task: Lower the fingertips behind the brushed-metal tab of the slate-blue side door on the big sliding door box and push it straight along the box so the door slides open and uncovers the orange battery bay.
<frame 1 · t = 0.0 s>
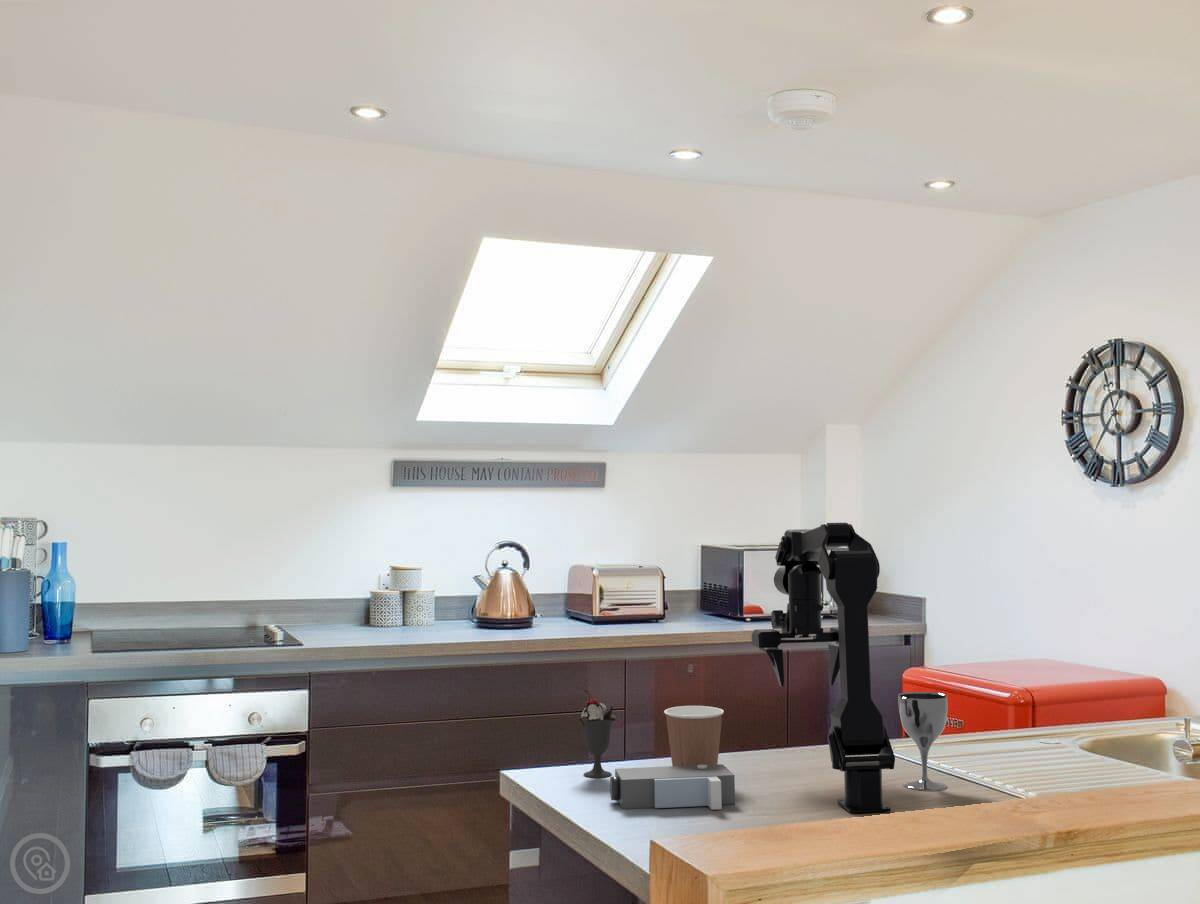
hand: (806, 685, 209), 15 cm above the counter, fingers open, 9 cm apart
sundae: (597, 776, 205), on the counter
coffee cup: (695, 782, 199), on the counter
side door: (687, 793, 180), point 2 cm above the counter, slide at 0.0 cm
sliding door box: (674, 800, 186), on the counter
wine glass: (925, 787, 194), on the counter
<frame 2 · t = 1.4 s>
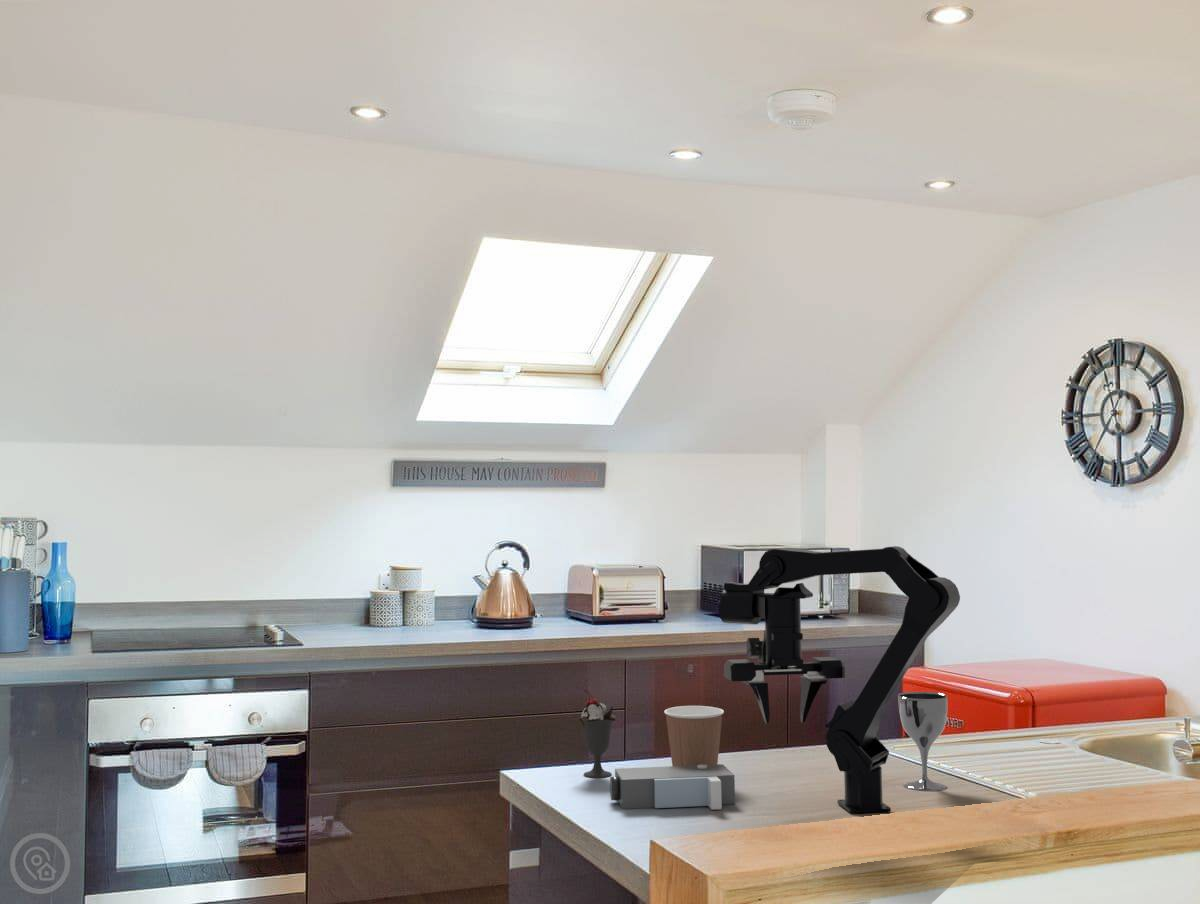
hand: (784, 722, 187), 12 cm above the counter, fingers open, 6 cm apart
nothing on the counter moved.
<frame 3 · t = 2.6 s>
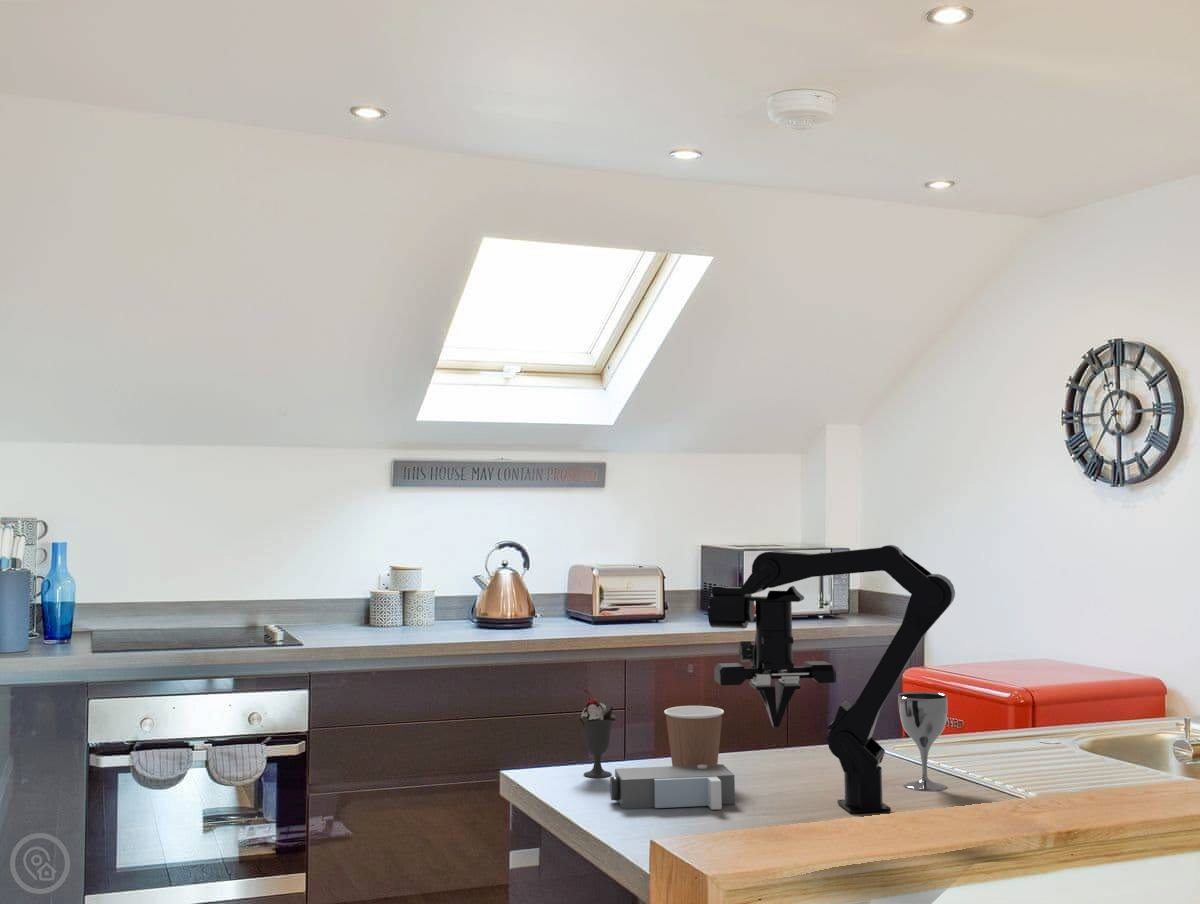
hand: (775, 727, 185), 12 cm above the counter, fingers closed
nothing on the counter moved.
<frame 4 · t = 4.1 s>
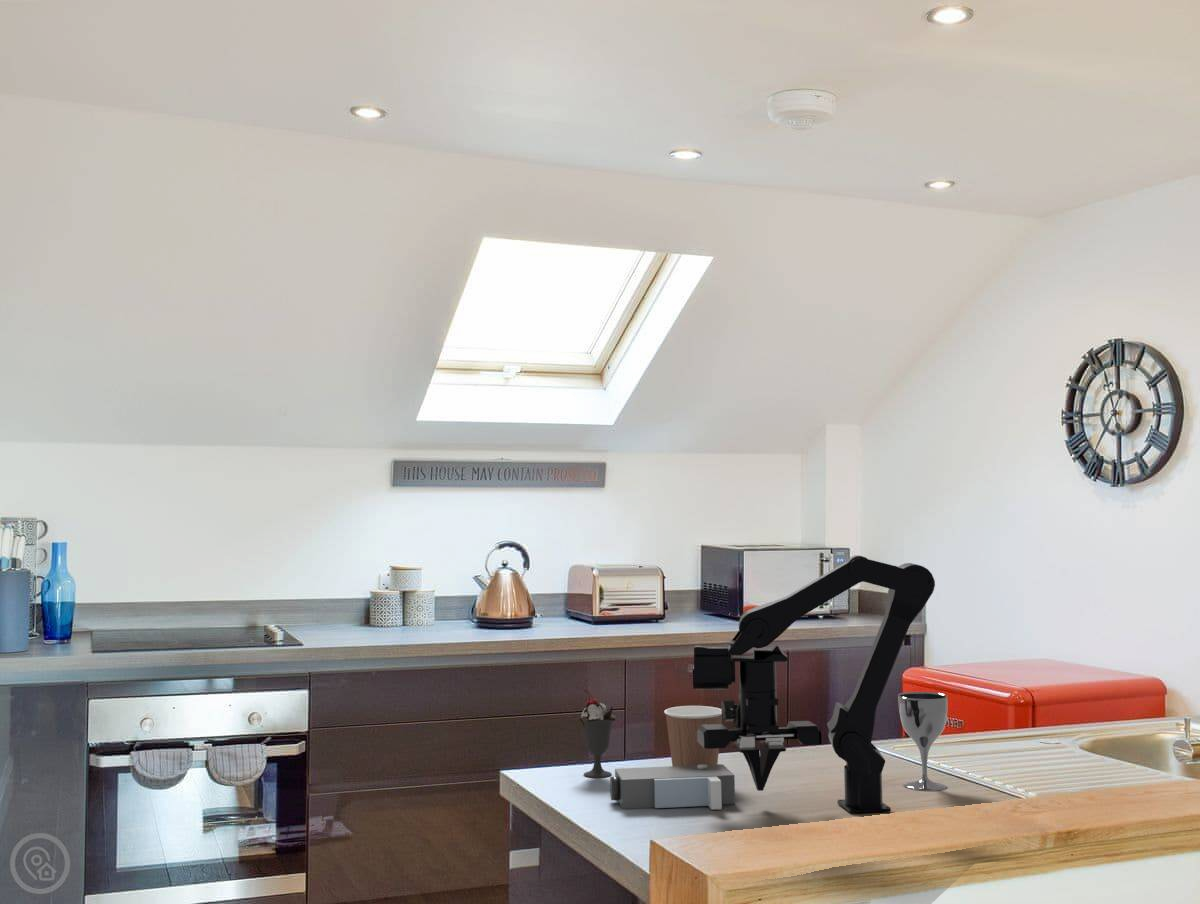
hand: (759, 790, 182), 3 cm above the counter, fingers closed
nothing on the counter moved.
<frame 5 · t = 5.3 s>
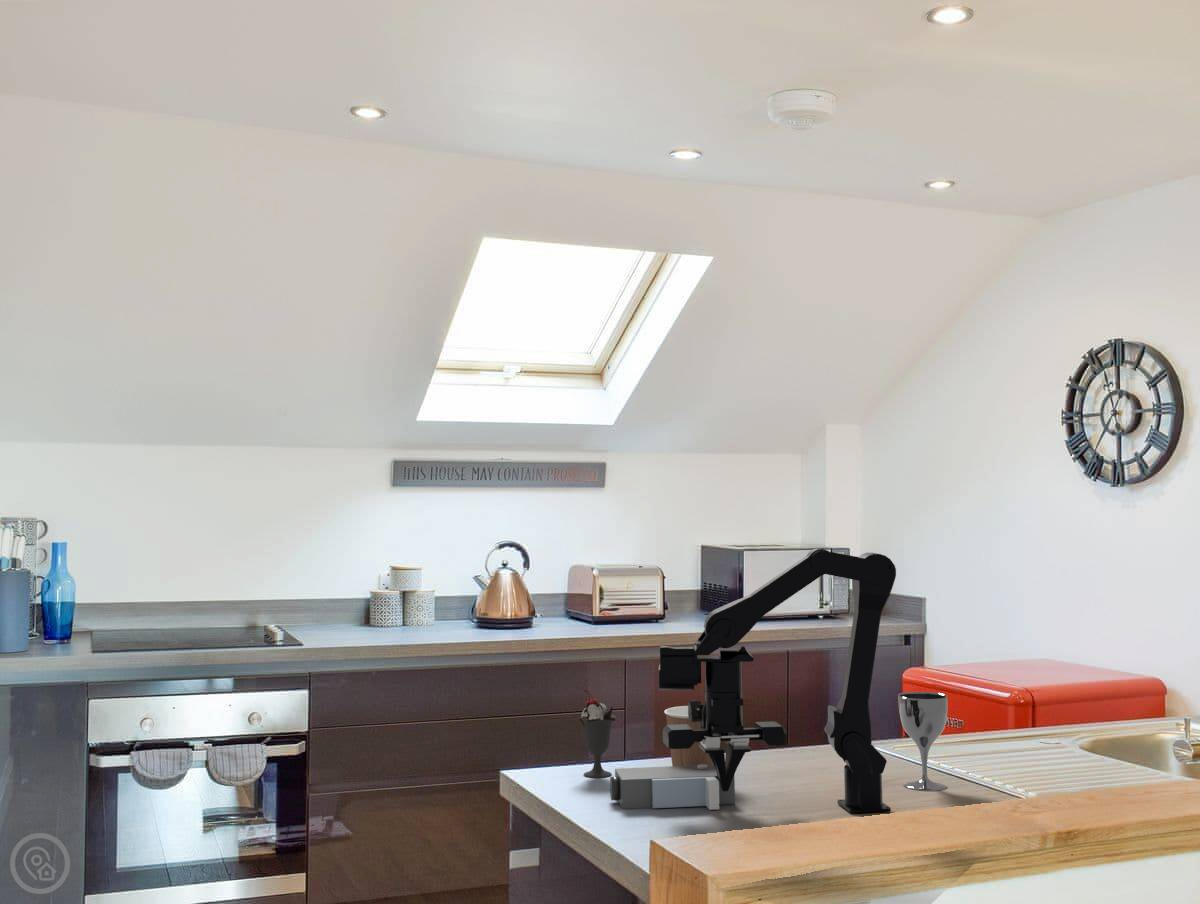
hand: (725, 790, 181), 3 cm above the counter, fingers closed
side door: (685, 794, 180), point 2 cm above the counter, slide at 0.4 cm, touching gripper
everything else where it was.
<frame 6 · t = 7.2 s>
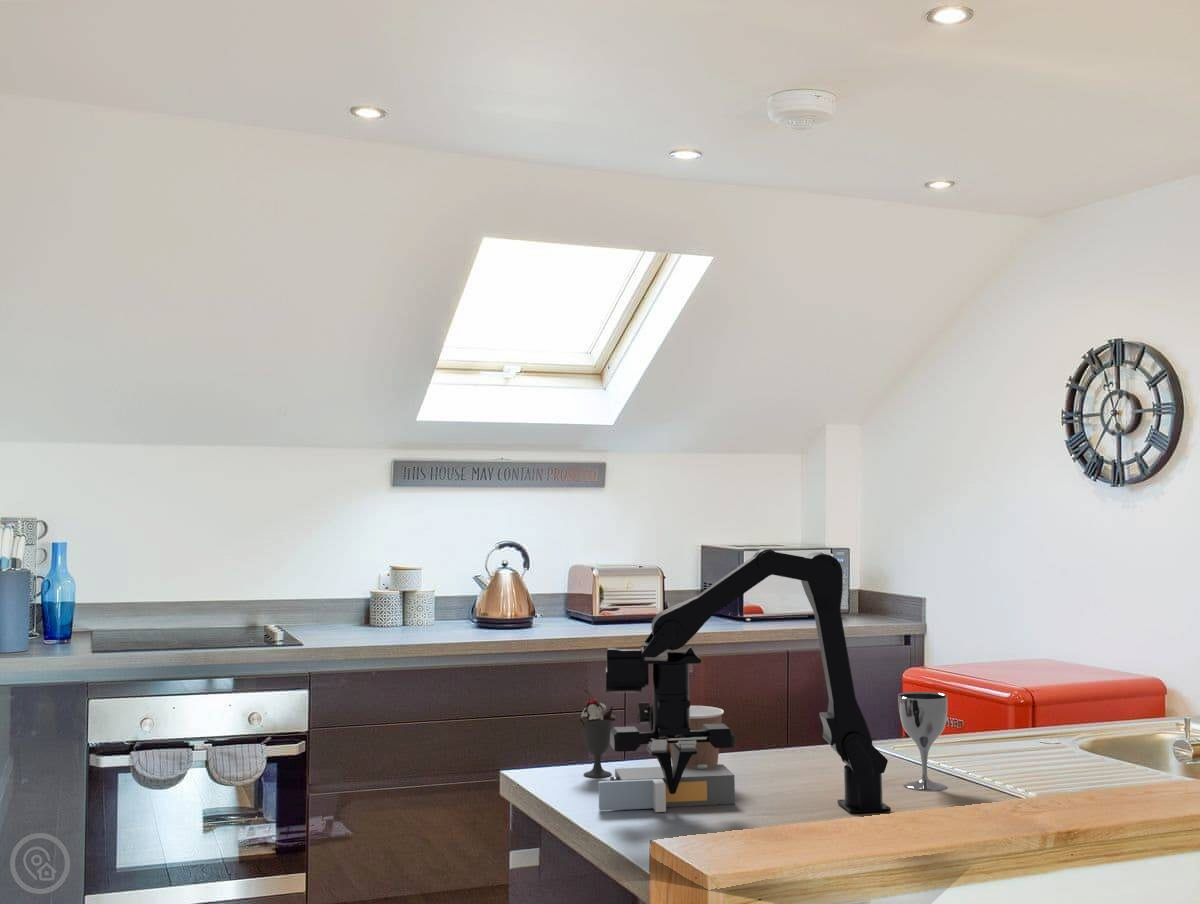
hand: (672, 793, 180), 3 cm above the counter, fingers closed
side door: (632, 796, 179), point 2 cm above the counter, slide at 8.8 cm, touching gripper
everything else where it was.
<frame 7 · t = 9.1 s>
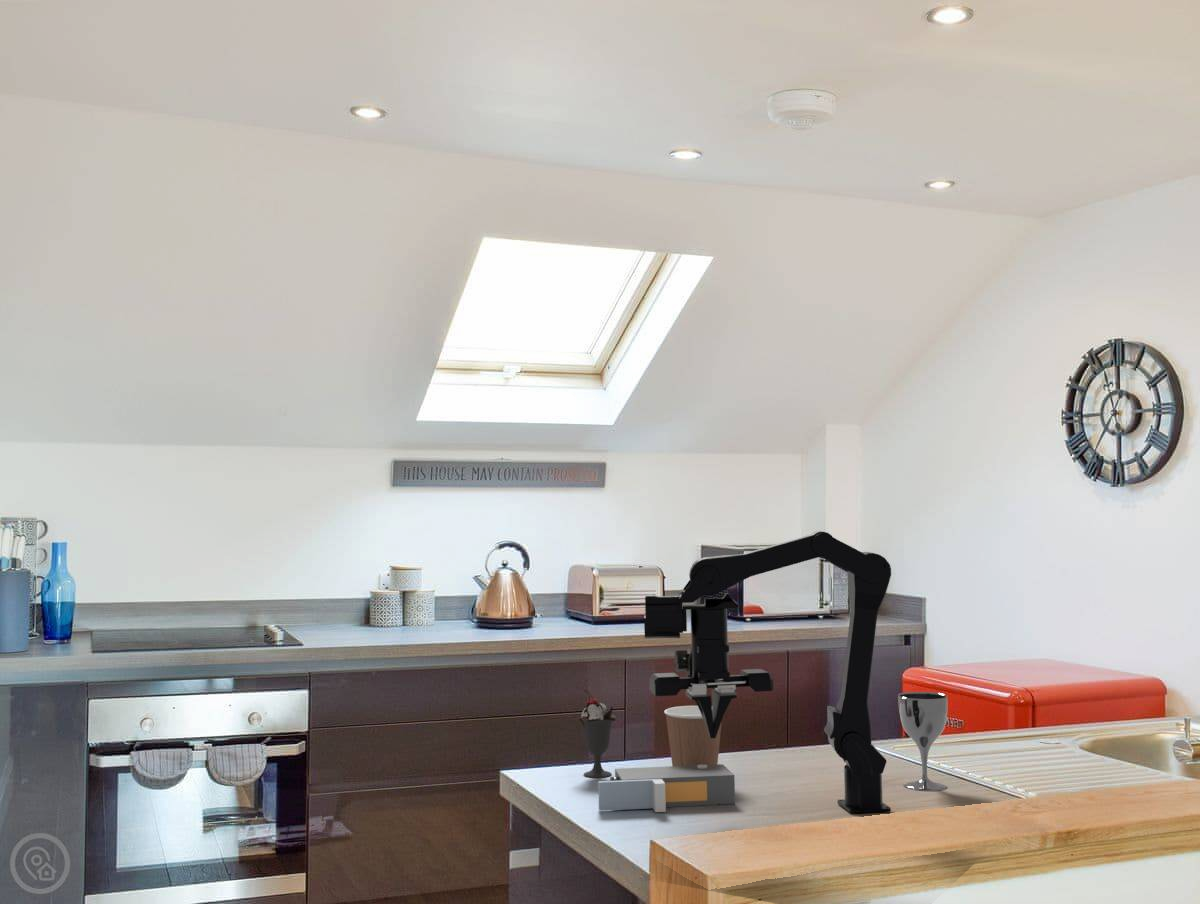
hand: (712, 737, 182), 11 cm above the counter, fingers closed
side door: (631, 796, 179), point 2 cm above the counter, slide at 8.8 cm
everything else where it was.
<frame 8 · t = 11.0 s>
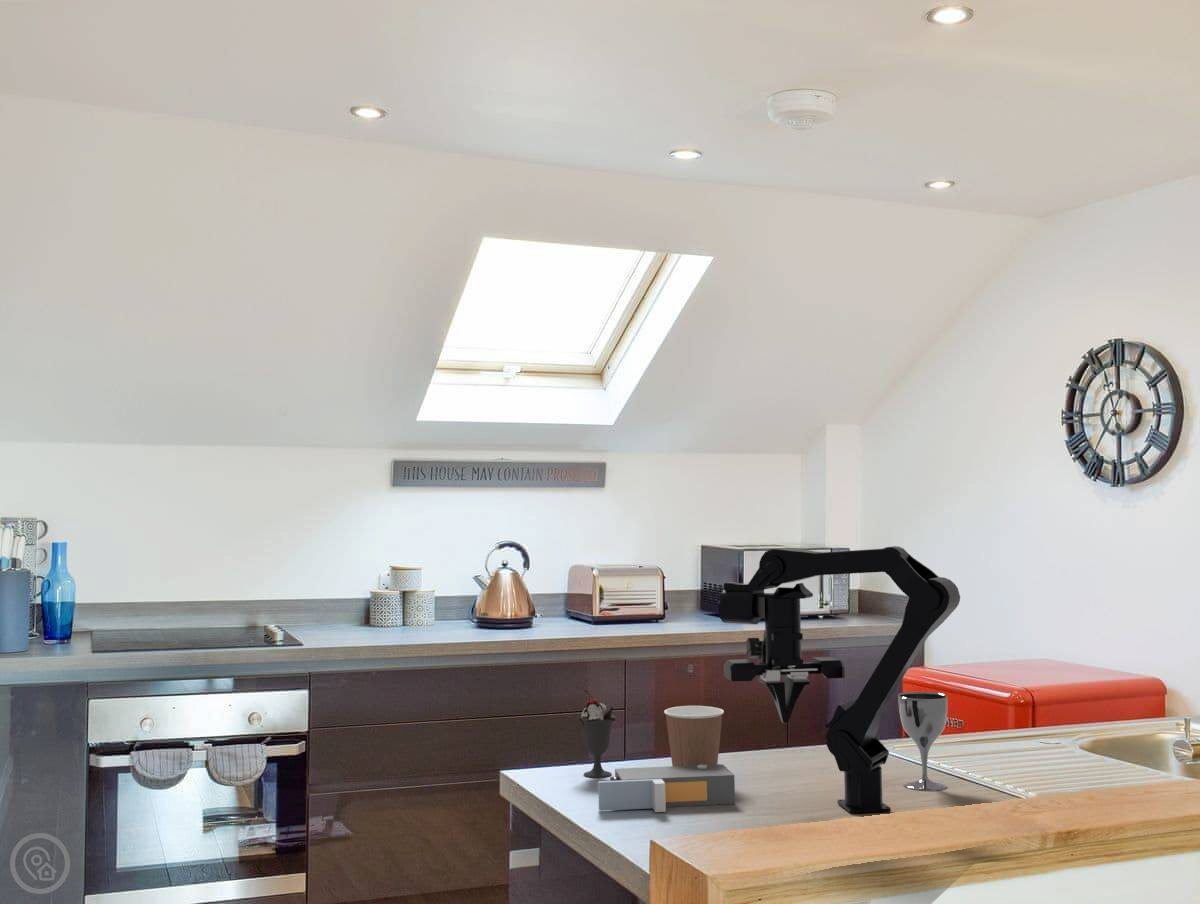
hand: (784, 722, 187), 12 cm above the counter, fingers closed
nothing on the counter moved.
at the end: side door slide at 8.8 cm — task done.
